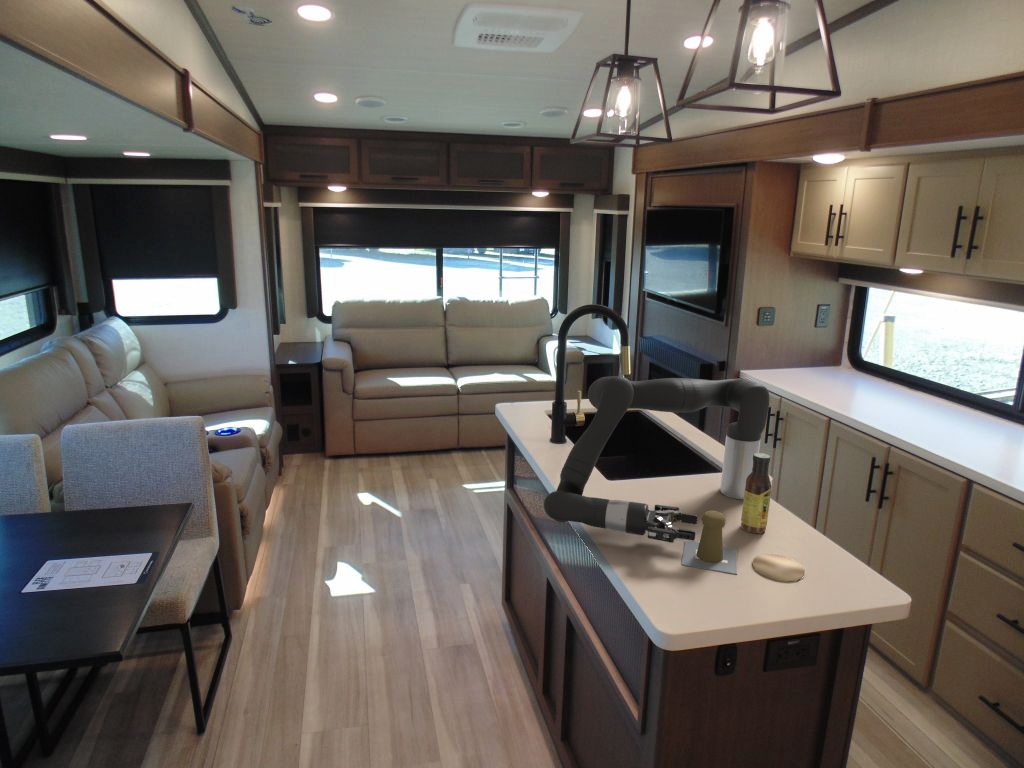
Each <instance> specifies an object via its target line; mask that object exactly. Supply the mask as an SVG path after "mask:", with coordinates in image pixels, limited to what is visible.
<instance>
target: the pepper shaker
mask: <svg viewBox="0 0 1024 768" xmlns="http://www.w3.org/2000/svg"><path fill="white" fill-rule="evenodd" d="M701 522H702V524H703V527H702V531H701V534H700V537H699V538H700V539H699V542H698V543H699V546H698V550H697V557H698V558H699V559H701V560H703V561H705V562H709V563H718V562H721V561H722V560H723V547H724V541H723V538H724V537H723V528H724V527H725V525H726V517H725V515H724V514H723V513H721V512H719V511H716V510H707V511H705V512H704V513H703V514H702V517H701Z"/></svg>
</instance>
